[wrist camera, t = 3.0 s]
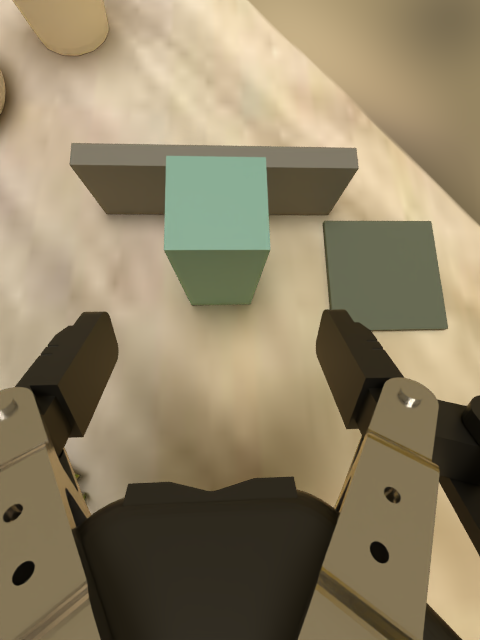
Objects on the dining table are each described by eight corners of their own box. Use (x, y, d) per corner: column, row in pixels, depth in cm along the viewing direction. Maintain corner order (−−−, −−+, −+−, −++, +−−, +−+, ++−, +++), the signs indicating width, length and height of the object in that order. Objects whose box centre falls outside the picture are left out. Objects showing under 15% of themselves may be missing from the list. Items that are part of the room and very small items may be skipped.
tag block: (191, 305, 22) (164, 250, 12) (191, 246, 23) (166, 149, 13) (250, 304, 22) (270, 249, 12) (248, 246, 23) (265, 151, 13)
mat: (331, 331, 22) (333, 330, 22) (322, 223, 24) (324, 220, 23) (444, 329, 22) (448, 328, 22) (427, 223, 24) (431, 221, 24)
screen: (106, 213, 23) (69, 164, 17) (109, 164, 24) (75, 102, 18) (328, 214, 24) (358, 168, 18) (324, 167, 25) (351, 109, 19)
